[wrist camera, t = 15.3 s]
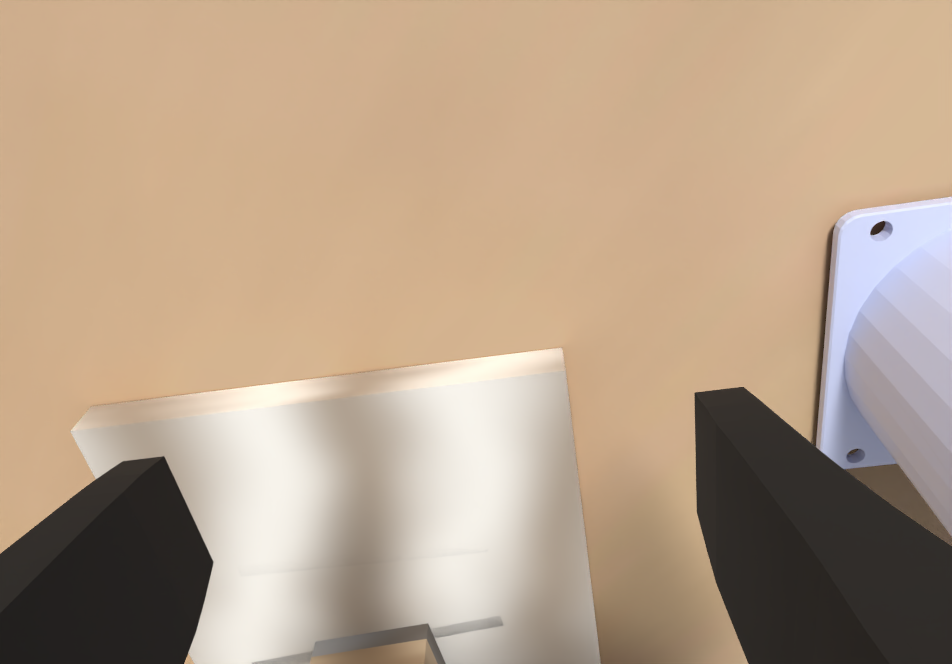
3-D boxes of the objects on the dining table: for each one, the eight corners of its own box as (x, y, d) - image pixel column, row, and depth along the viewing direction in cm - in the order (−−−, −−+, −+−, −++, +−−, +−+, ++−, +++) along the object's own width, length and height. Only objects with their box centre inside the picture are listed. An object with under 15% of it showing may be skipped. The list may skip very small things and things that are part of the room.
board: (562, 347, 20) (565, 370, 19) (608, 735, 29) (613, 765, 28) (90, 406, 22) (70, 431, 21) (269, 759, 30) (261, 789, 29)
